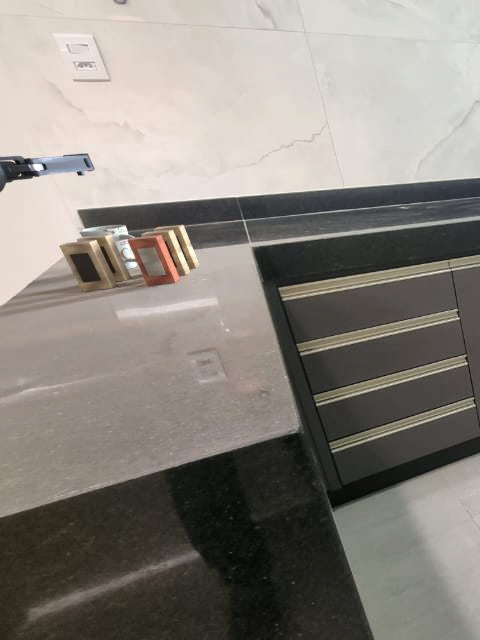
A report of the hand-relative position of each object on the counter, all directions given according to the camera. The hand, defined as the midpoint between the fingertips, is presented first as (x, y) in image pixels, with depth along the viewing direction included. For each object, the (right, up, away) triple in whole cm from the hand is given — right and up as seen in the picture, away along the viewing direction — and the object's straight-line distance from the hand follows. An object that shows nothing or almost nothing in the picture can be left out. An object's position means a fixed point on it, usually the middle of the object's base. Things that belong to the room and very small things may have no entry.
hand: (39, 164), depth 92 cm
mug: (-23, -12, +40) cm, 47 cm away
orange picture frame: (-1, -17, +25) cm, 30 cm away
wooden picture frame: (-5, -13, +34) cm, 37 cm away
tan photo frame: (-14, -17, +26) cm, 34 cm away
